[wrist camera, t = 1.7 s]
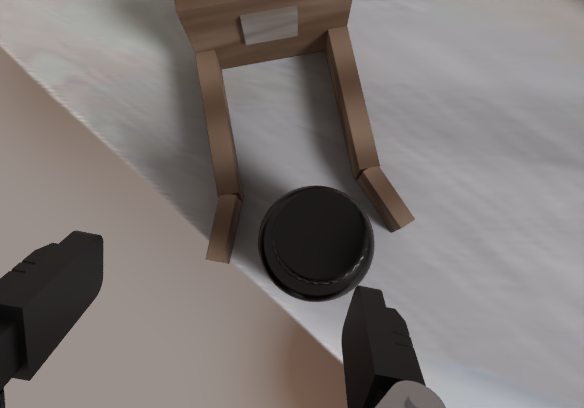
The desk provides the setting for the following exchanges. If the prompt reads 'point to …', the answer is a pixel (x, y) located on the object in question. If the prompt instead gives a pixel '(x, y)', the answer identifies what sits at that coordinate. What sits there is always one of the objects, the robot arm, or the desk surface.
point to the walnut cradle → (270, 46)
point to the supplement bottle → (316, 243)
